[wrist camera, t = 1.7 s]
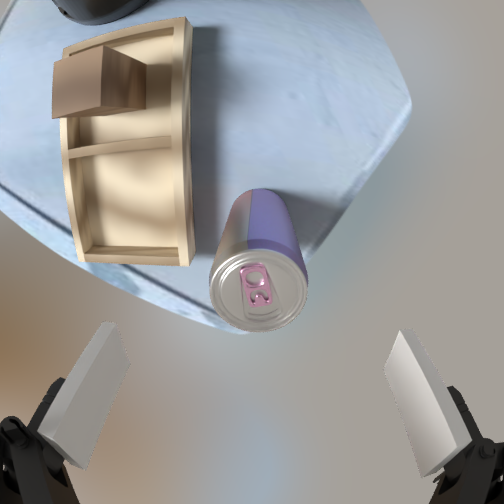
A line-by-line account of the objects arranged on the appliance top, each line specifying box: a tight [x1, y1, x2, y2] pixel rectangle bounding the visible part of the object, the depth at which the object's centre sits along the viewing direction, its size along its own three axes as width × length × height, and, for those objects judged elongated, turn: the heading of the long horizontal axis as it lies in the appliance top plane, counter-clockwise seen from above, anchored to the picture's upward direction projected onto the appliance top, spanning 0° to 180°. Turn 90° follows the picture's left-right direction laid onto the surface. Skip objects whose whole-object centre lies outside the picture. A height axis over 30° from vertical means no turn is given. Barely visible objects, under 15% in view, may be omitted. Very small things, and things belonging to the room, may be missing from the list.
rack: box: [60, 17, 196, 266], centre depth 25 cm, size 25×14×3 cm, turn 179°
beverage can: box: [209, 189, 308, 332], centre depth 23 cm, size 6×6×15 cm
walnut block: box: [52, 45, 147, 119], centre depth 19 cm, size 5×5×9 cm
